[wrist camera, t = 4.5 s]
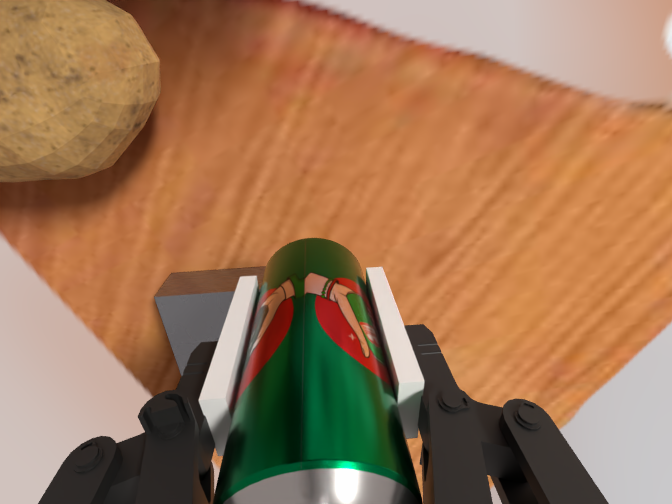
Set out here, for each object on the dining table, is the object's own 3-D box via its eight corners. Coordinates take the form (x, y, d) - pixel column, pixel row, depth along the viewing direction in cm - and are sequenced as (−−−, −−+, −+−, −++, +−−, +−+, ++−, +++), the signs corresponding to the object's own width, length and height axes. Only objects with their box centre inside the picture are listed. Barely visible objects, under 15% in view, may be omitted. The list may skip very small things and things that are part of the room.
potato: (217, 133, 23) (177, 155, 16) (33, 188, 24) (-83, 232, 17) (145, -43, 19) (45, -118, 12) (-79, 31, 20) (-298, 3, 13)
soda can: (275, 319, 19) (232, 638, 8) (254, 239, 16) (154, 547, 6) (364, 307, 19) (435, 609, 8) (357, 226, 16) (443, 506, 6)
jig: (171, 273, 28) (154, 297, 25) (327, 262, 28) (329, 284, 25) (215, 416, 36) (206, 448, 33) (335, 406, 37) (338, 436, 34)
